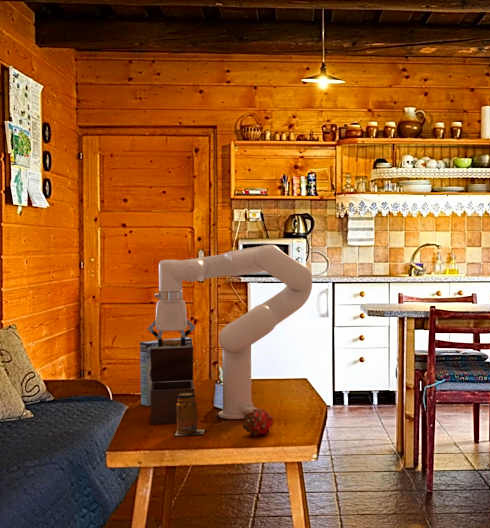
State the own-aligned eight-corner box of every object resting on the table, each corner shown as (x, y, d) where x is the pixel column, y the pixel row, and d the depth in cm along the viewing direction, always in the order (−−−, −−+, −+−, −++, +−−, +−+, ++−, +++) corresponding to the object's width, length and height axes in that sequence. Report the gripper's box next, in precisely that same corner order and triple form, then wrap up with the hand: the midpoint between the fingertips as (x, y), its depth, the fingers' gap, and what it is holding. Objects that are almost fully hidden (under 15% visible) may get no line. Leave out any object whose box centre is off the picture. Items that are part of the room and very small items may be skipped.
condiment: (177, 431, 261) (176, 392, 261) (204, 430, 262) (204, 391, 262) (174, 436, 254) (173, 396, 253) (202, 435, 255) (202, 395, 254)
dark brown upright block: (193, 347, 278) (192, 335, 281) (150, 349, 275) (150, 336, 278) (192, 380, 290) (192, 368, 293) (151, 382, 287) (151, 370, 290)
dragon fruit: (249, 445, 248) (261, 441, 260) (272, 428, 247) (283, 425, 259) (233, 421, 249) (246, 418, 261) (256, 404, 249) (267, 402, 261)
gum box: (186, 397, 319) (185, 337, 318) (194, 399, 315) (193, 338, 314) (140, 404, 305) (139, 341, 305) (147, 406, 302) (146, 342, 301)
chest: (194, 422, 274) (194, 388, 274) (151, 424, 271) (150, 390, 271) (193, 412, 290) (192, 380, 290) (152, 414, 287) (151, 382, 287)
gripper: (143, 298, 275) (144, 352, 276) (197, 296, 279) (198, 350, 280) (144, 296, 283) (145, 350, 283) (196, 295, 287) (197, 348, 287)
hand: (171, 349), depth 282 cm, fingers closed on dark brown upright block, 6 cm apart
